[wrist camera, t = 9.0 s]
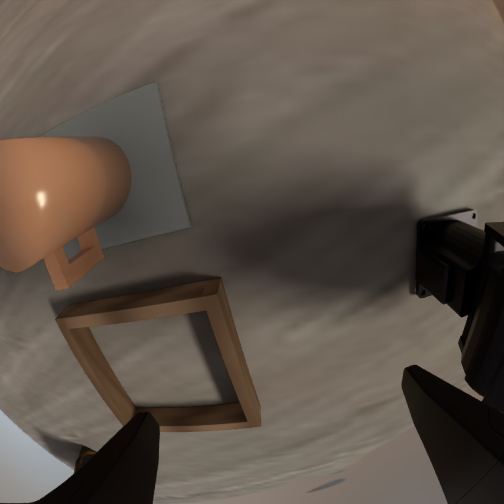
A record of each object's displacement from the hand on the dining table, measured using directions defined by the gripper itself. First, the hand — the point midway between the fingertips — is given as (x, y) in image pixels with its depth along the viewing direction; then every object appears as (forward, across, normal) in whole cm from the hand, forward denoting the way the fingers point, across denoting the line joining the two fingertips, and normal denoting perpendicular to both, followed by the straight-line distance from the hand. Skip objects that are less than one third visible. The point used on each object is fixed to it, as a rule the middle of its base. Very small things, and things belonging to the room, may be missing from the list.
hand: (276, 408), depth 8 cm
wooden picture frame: (+12, +10, +7) cm, 17 cm away
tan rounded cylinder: (+12, +10, -9) cm, 18 cm away
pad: (+12, +10, -9) cm, 18 cm away
